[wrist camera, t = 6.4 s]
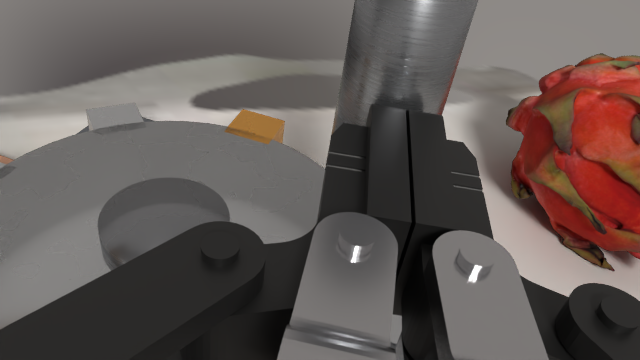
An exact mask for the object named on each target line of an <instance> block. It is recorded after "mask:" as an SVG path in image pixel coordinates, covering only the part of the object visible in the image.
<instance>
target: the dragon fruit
mask: <svg viewBox="0 0 640 360" xmlns="http://www.w3.org/2000/svg"><path fill="white" fill-rule="evenodd" d="M539 87H540V90H541V92H542V94H541V95H539V96H532V97H531V96H530V97H527V98H525V99H523V100H522V101H521V102H520V104H519V105H518V106H517V107H515V108H512V109H510V110H509V111H508V117H507V119H506V125H508V126H509V127H511V128H512V129H514V130H516V131H520V132H522V134H523V135H524V138H523V141H522V144H521V147H520V150H519V151H518V153H517V155H516V157H515V159H514V160H513V162H512V170H511V177H512V181H511V186H512V191H513V193H514V195H515V197H516V198H519V199H521V198H528V197H530V196H531V195H533V194H532V192H534V193H535V195H536V198H537V200H538V201H539V203H540V204H541V205H542V207H543V208H544V209H545V211H546V213H547V214H548V216H549V217H550V222H551V225H552V227H553V229H554V230H555V231H556V232H557V233H559V234H560V235H561V236H562V237H563V238H564V241H563V243H564V245H565V246H567V247H568V248H570V249H572V250H573V251H575V252H576V253H577V254H579V255H580V256H581V257H583V258H585V259H586V260H588V261H590V262H592V263H595V264H597V265H599V266H600V267H602V268H607V269H609V270H611V271H614V269H613V268H612V266H611V265H610V264H608V262H607V261H606V258H604V254H603V252H602V251H601V250H600V249H599V247H598V246H600V247H602V248H603V249H605V250H608V251H628V252H629V253H630V254H631V255H633V256H634V257H636V258H638V259H640V56H621V57H618V58H616V59H615V58H612V57H609V56H607V55H604V54H597V55H594V56H591V57H589V58H587V59H585V60H583V61H581V62H580V63H578V64H577V65H575V66H573V65H567V66H565V67H563V68H560V69H557V70H555V71H553V72H551V73H549V74H548V75H545V76H544V77H542V78H541V79H540V81H539ZM597 245H598V246H597Z"/></svg>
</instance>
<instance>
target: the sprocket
mask: <svg viewBox="0 0 640 360" xmlns="http://www.w3.org/2000/svg"><path fill="white" fill-rule="evenodd" d="M477 2H478V0H355V3H354V9H353V15H352V20H351V26H350V31H349V37H348V43H347V49H346V54H345V60H344V66H343V72H342V77H341V83H340V89H339V95H338V100H337V106H336V112H335V118H334V123H333V129H332V134H333V133H334V132H335V131H336V130H337V129H338V128H339V127H340V126H341V125H342V124H343V123H348V124H354V125H360V126H366V121H367V117H368V112H369V109H370V105H371V104H376V105H382V106H389V107H395V108H401V109H405V110H406V111H407V110H413V111H420V112H426V113H432V114H438V115H442V113H443V110H444V106H445V103H446V100H447V97H448V94H449V91H450V88H451V84H452V81H453V78H454V75H455V72H456V69H457V66H458V62H459V59H460V56H461V53H462V50H463V47H464V43H465V40H466V37H467V34H468V31H469V27H470V25H471V21H472V18H473V15H474V12H475V9H476V6H477ZM86 113H87V119H88V125H89V131H87V132H83V133H80V134H76V135H72V136H69V137H66V138H64V139H61V140H58V141H55V142H52V143H49V144H47V145H45V146H42V147H40V148H38V149H36V150H33V151H31V152H29V153H27V154H25V155H23V156H21V157H19V158H17V159H16V160H14V161H12V162H10V163H8V164H4V163H1V162H0V329H2V328H4V327H5V326H7V325H9V324H11V323H13V322H15V321H17V320H19V319H21V318H23V317H24V316H26V315H28V314H30V313H32V312H34V311H36V310H38V309H40V308H41V307H43V306H45V305H47V304H49V303H51V302H53V301H55V300H57V299H58V298H60V297H62V296H64V295H66V294H68V293H70V292H72V291H74V290H75V289H77V288H79V287H81V286H83V285H85V284H87V283H89V282H91V281H92V280H94V279H96V278H98V277H100V276H102V275H104V274H106V273H108V272H109V271H111V270H113V269H115V268H117V267H119V266H121V265H123V264H125V263H127V262H128V261H130V260H132V259H134V258H136V257H138V256H140V255H142V254H144V253H145V252H147V251H149V250H151V249H153V248H155V247H157V246H159V245H161V244H162V243H164V242H166V241H168V240H170V239H172V238H174V237H176V236H178V235H179V234H181V233H183V232H185V231H187V230H189V229H191V228H193V227H195V226H197V225H200V224H203V223H207V222H213V221H227V222H233V223H237V224H240V225H243V226H245V227H247V228H249V229H251V230H252V231H254V232H255V233H256V234H257V235H258V236H259V237H260V239H261V240H262V241H263V243H264V244H270V243H281V242H287V241H291V240H295V239H297V238H300V237H302V236H304V235H305V234H307V233H308V232H309V231H311V230H312V229H313V228H314V226H315V225H316V224H317V219H318V212H319V205H320V199H321V192H322V186H323V180H324V174H325V169H324V168H323V167H321V166H320V165H318V164H317V163H316V162H314V161H313V160H311V159H310V158H308V157H307V156H305V155H303V154H301V153H300V152H298V151H296V150H294V149H292V148H290V147H289V146H286V145H284V144H282V141H283V132H284V123H285V121H283V120H279V119H276V118H272V117H269V116H265V115H262V114H258V113H255V112H251V111H247V110H244V109H243V110H242V111H241V112H240V113H239V114H238V115H237V117H236V118H235V119H234V120H233V121H232V123H231V124H230V125H229V126H228V127H227V126H221V125H215V124H209V123H199V122H188V121H153V122H144V121H143V119H142V117H141V114H140V112H139V110H138V108H137V106H136V104H135V103H129V104H122V105H114V106H107V107H100V108H93V109H86ZM401 331H402V316H399V315H393V317H392V329H391V342H390V346H391V348H394V349H395V350H396V345H397V342H398V339H399V337H400V334H401Z"/></svg>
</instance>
